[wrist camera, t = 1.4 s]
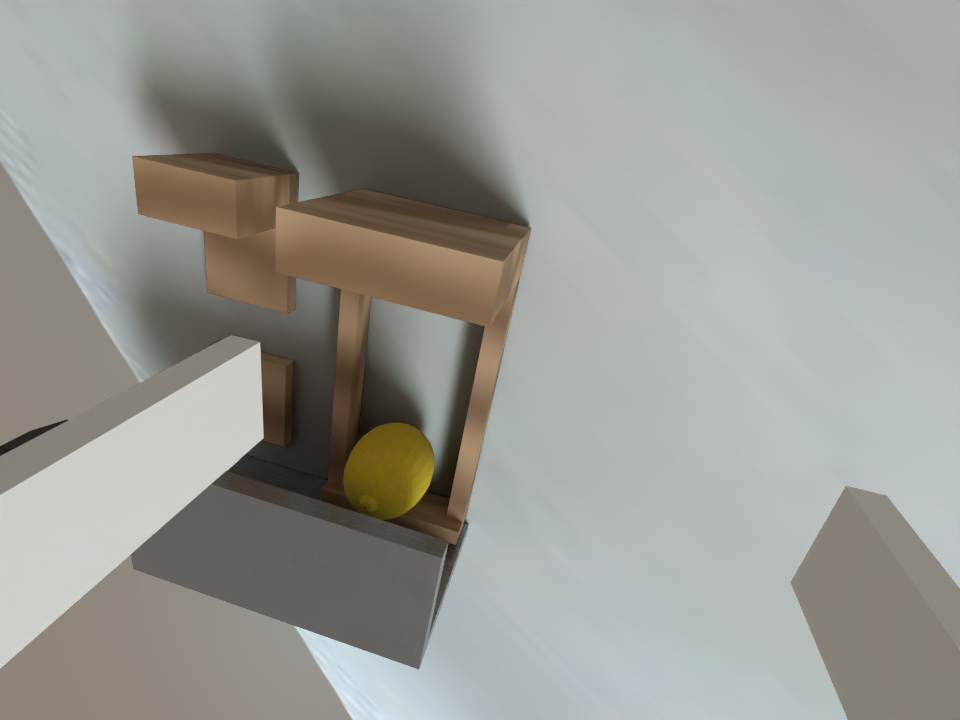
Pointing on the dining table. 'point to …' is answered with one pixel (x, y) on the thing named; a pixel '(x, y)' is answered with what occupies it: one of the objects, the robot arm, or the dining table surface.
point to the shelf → (306, 560)
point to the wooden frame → (411, 282)
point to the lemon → (388, 470)
